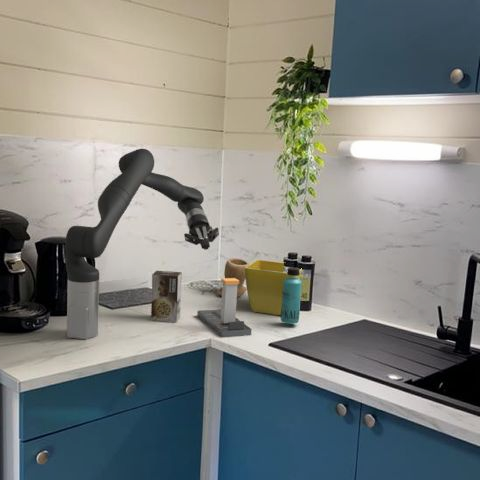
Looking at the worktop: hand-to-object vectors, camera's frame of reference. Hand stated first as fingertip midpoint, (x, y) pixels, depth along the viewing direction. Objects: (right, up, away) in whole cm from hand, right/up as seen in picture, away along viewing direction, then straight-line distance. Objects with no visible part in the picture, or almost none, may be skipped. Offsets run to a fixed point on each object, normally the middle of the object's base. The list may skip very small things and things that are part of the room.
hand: (206, 247), depth 206 cm
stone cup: (+9, -20, +38) cm, 44 cm away
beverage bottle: (+29, -27, 0) cm, 39 cm away
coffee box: (-14, -25, -1) cm, 28 cm away
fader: (+8, -24, -8) cm, 27 cm away
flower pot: (+24, -24, +19) cm, 39 cm away
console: (+6, -26, -4) cm, 27 cm away
